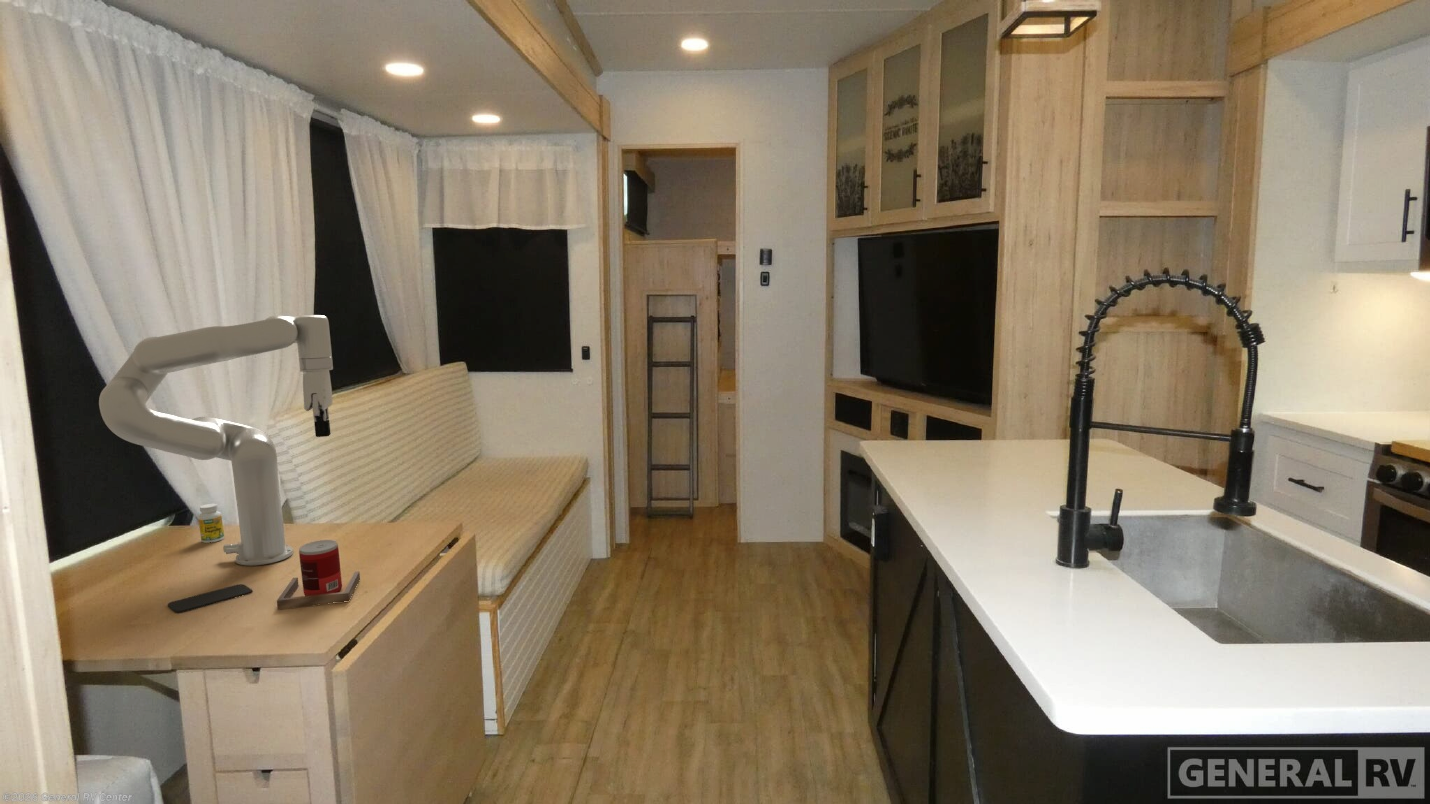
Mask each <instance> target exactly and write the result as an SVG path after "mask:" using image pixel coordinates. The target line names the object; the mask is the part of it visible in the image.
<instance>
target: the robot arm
mask: <svg viewBox="0 0 1430 804" xmlns="http://www.w3.org/2000/svg"><path fill="white" fill-rule="evenodd" d="M294 344H297V353H298V362H299V363H298V364H299V372H301V373H302V391H303V393H302V394H303V408H304V410H305V411H306V412H309V411H310V410H312V415H313V423H314V425H313V426H314V431H315V432H314V433H315V437H317V438H321V437H322V438H323V437H324V438H325V437H330V436H331V425H330V419H329V418H330V413H329V407H331V406H332V404H333V388H332V382H331V373H330V371H332V370H334V364H333V356H332V355H333V354H332V353H333V352H332V344H331V334H330V323H329V319H328V317H327V316H325V315H321V314H307V315H306V314H305V315H300V316H299V315H298V316H286V315H271V316H269V317H267V318H265V319H263V320H257V321H252V322H248V323H240V324H233V325H226V326H225V325H223V326H222V325H221V326H220V325H218V326H207V327H201V328H196V329H191V330H187V331H183V332H182V331H180V332H177V333H171V334H165V335H161V336H150V337H146V338H144V339H142V340H141V341H139V342H138V343H137V345H135V347H134V349H133V351H132V353H131V354H130V355H129V357H128V358H127V360H126V361H125V363H123V364H122V366H121V367H120V369H119V370H118V371H117V372H116V374H114V376H113V377H112V379H111V380H110V381H109V382H108V383H107V384H106V385H105V386H104V388H103V389H102V390H101V392H100V395H99V398H98V399H99V400H98V406H99V412H100V416H101V417H102V420H103V423H104V424H105V425H106V427H107V428H108V429H109V430H110V431H111V432H112V433H113V434H115V435H116V436H117V437H119V438H120V439H122V440H124V441H127V442H129V443H131V444H135V445H139V446H143V447H146V448H151V449H154V450H159V451H162V452H167V453H171V454H175V455H180V456H184V457H186V458H187V457H188V458H192V459H194V460H200V461H208V460H212V459H215V458H216V459H221V460H226V461H231V468H232V474H233V475H232V477H233V484H234V493H235V500H236V508H237V518H238V525H239V534H240V541H239V542H237V543H230V544H229V543H228V544H227V543H226V544H224V545H223V546H222V547H223V548H222V549H223V553H225V554H226V555H232V554H236V557H235V562H236V563H237V564H238V565H241V566H252V567H253V566H261V565H262V566H263V565H267V564H268V565H269V564H274V563H277V562H280V561H283V560H285V559H288V558H289V557H291V556H292V555H294V547H292V546H290V545H286V538H285V537H286V535H285V527H284V519H283V518H284V517H283V508H282V500H281V492H280V483H279V472H278V471H279V470H278V456H277V454H278V453H277V451H276V450H277V449H276V446H275V444H274V442H273V440H272V438H271V437H270V435H268V433H266V431H263V430H262V429H259V428H256V427H254V426H253V427H252V426H249V425H245V424H241V423H236V422H232V421H227V420H224V419H220V418H216V417H210V416H199V417H194V418H192V419H190V418H186V417H182V416H177V415H173V414H170V413H167V412H166V413H165V412H160V411H157V410H156V411H155V410H153V409H151V408H150V407H148V406H147V402H148V401H149V400H150V398H151V396H152V395H153V393H154V392H155V391H156V390H157V389H158V388H159V386H160V385H161V384H162V382H163V381H164V379H166V376H167V375H168V373H174V372H178V371H179V372H180V371H184V370H186V369H192V368H196V367H197V368H198V367H200V366H201V367H202V366H207V365H211V364H216V363H221V362H227V361H230V360H231V361H232V360H235V359H238V358H243V357H244V358H245V357H249V356H254V355H258V354H264V353H269V352H272V351H277V350H282V349H286V348H288V347H290V346H292V345H294Z"/></svg>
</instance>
